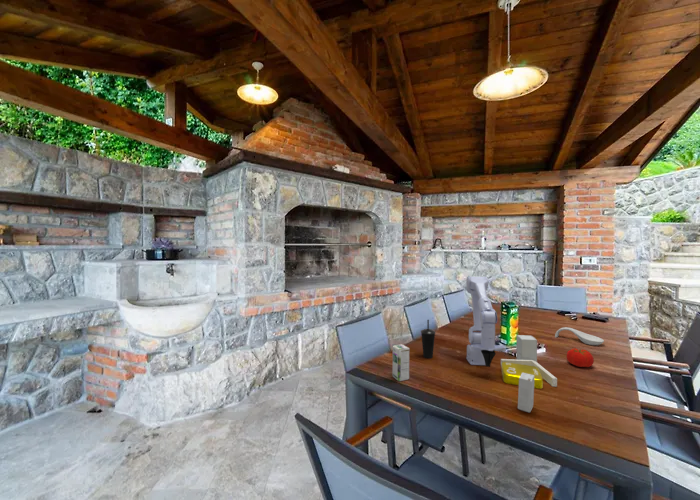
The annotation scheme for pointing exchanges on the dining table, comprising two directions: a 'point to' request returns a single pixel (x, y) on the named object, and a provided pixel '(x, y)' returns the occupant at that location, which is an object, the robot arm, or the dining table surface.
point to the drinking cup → (428, 341)
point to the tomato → (580, 357)
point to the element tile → (514, 371)
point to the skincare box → (526, 392)
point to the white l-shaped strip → (544, 373)
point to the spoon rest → (583, 336)
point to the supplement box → (526, 348)
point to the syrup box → (400, 362)
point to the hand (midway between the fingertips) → (487, 365)
